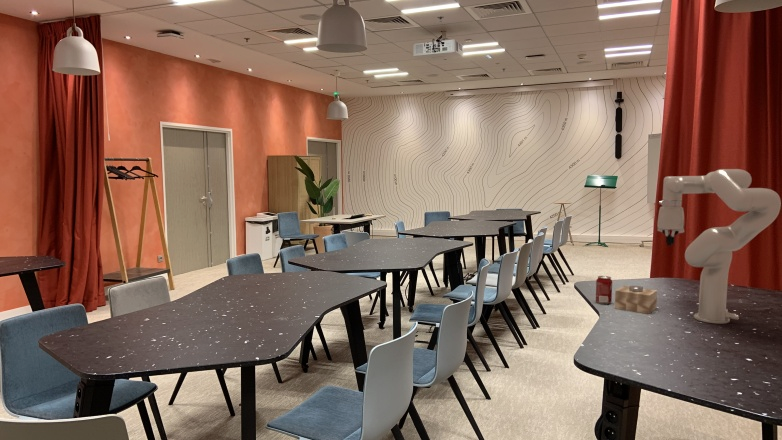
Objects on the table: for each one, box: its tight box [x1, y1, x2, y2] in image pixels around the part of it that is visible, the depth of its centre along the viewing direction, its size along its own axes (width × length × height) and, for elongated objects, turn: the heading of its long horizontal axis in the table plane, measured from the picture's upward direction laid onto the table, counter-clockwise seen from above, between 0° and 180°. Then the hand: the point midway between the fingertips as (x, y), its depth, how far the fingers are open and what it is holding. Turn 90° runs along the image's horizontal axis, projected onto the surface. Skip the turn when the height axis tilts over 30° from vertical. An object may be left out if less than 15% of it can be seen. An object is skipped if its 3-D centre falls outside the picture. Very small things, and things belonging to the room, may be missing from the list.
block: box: [614, 285, 658, 315], centre depth 237 cm, size 14×12×8 cm
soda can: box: [595, 275, 613, 305], centre depth 247 cm, size 7×7×12 cm
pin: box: [628, 285, 644, 292], centre depth 237 cm, size 6×6×9 cm
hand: (669, 245), depth 241 cm, fingers closed
